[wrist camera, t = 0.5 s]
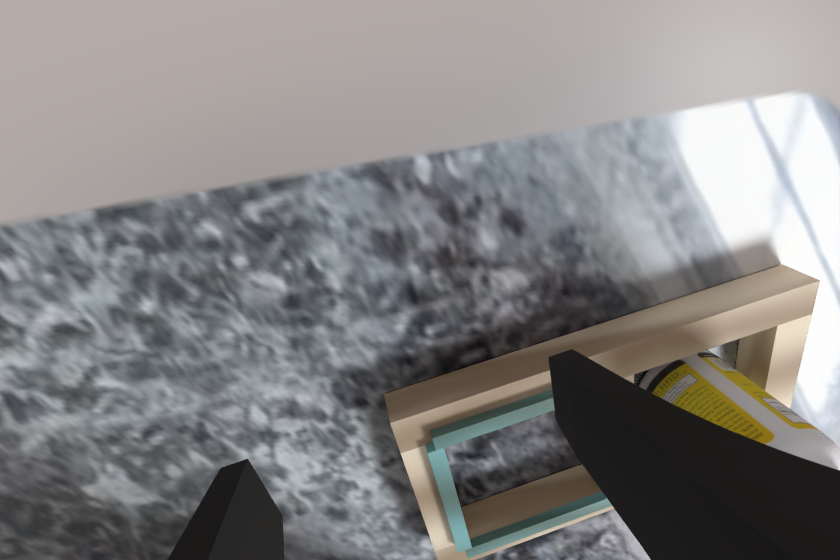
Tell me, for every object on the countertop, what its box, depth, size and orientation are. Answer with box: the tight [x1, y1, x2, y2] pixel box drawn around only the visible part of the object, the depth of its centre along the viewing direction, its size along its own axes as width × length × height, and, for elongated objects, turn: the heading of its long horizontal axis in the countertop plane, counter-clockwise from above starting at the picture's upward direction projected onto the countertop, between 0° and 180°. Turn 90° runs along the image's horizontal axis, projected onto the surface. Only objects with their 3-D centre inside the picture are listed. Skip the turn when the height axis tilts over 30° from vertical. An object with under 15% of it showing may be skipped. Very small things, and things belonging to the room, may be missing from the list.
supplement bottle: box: [639, 350, 840, 470], centre depth 22 cm, size 5×5×10 cm
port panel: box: [384, 265, 820, 560], centre depth 25 cm, size 12×22×2 cm, turn 103°
